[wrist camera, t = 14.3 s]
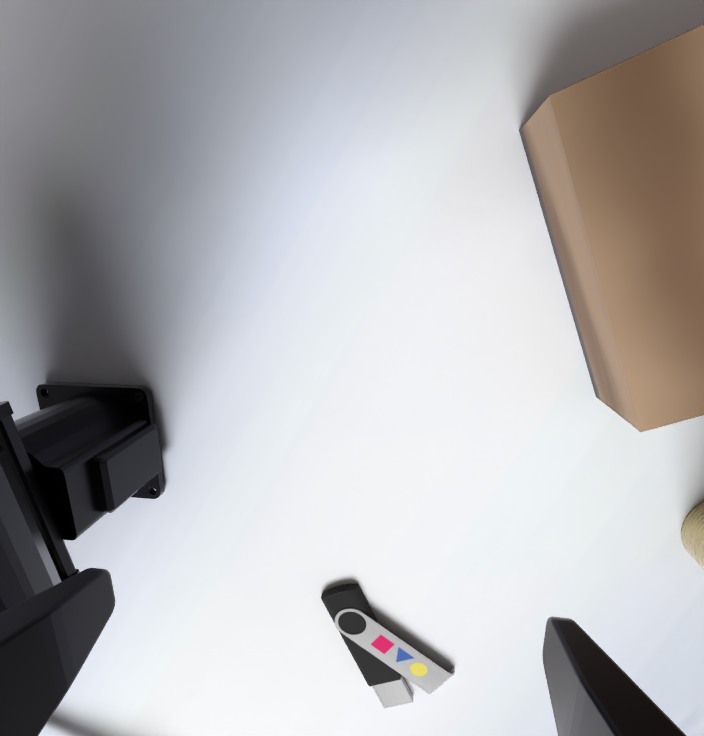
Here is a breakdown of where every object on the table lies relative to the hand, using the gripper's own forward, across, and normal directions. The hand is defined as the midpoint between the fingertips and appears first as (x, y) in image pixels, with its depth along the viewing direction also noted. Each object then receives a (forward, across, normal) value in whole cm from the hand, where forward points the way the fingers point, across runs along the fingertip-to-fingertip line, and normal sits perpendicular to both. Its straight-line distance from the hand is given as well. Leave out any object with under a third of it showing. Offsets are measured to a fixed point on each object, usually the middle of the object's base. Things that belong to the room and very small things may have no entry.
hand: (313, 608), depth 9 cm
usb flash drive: (+14, -1, +15) cm, 20 cm away
